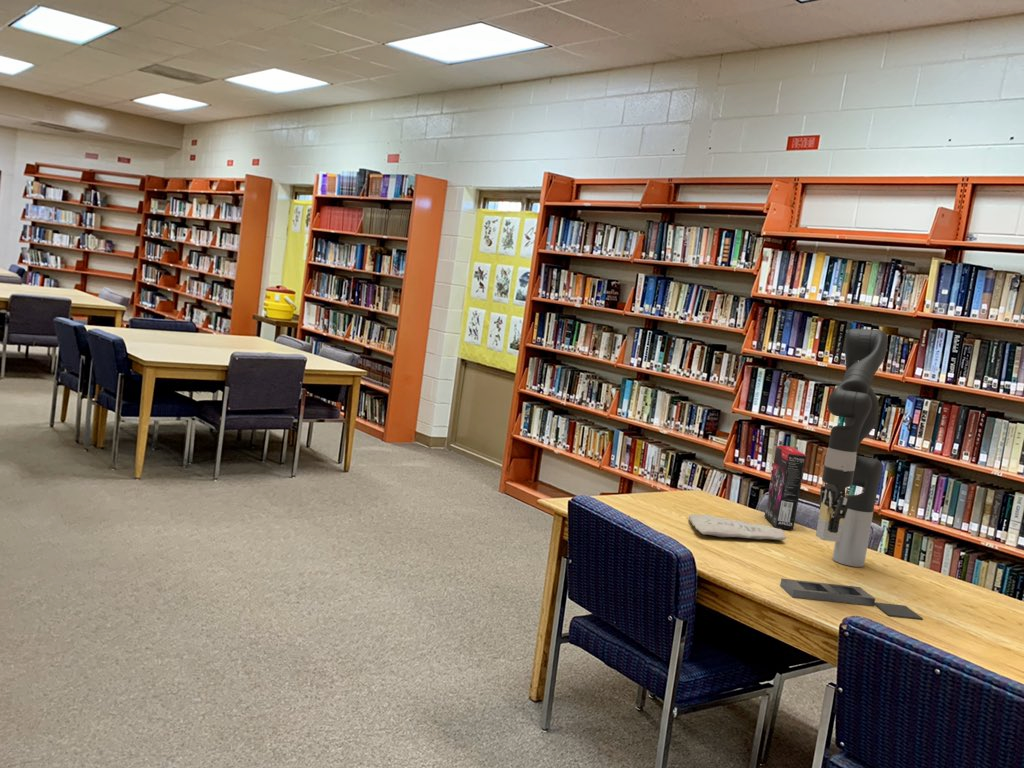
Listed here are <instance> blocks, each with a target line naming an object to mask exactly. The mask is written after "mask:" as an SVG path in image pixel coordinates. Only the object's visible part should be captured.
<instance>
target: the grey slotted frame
mask: <svg viewBox="0 0 1024 768" xmlns="http://www.w3.org/2000/svg"><path fill="white" fill-rule="evenodd" d="M779 586H780V587H781V588H782V589H783V590H784V591H785V593H787V594H789V596H791V597H792V598H797V599H807V600H815V601H822V602H823V601H825V602H834V603H842V604H843V603H845V604H851V605H852V604H853V605H863V606H871V607H874V606H875V605H874V603H875V602H876V598H875V597H873V595H871V594H870V593H869V592H867V591H866V590H864V589H863V588H862V587H861V586H854V585H845V584H835V583H828V582H818V581H817V582H816V581H811V580H810V581H808V580H799V579H791V578H790V579H788V578H780V584H779Z"/></svg>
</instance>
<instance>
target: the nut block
mask: <svg viewBox="0 0 1024 768" xmlns="http://www.w3.org/2000/svg"><path fill="white" fill-rule="evenodd" d="M834 506H837V505H834ZM835 510H836V509H835ZM842 512H843V511H842ZM818 515H819V516H818V520H817V526H816V533H815V536H816V537H818V538H819V539H820V540H822V541H828V542H834V543H835V542H839V540H840V534H841V528H842V522H843V518H841V519H840V521H839V527H838V532H837V533H833V532H830V531H829V524H830V518H831V509H830V507H829V504H827V503H822V502H821V507H820V506H819V513H818Z"/></svg>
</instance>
